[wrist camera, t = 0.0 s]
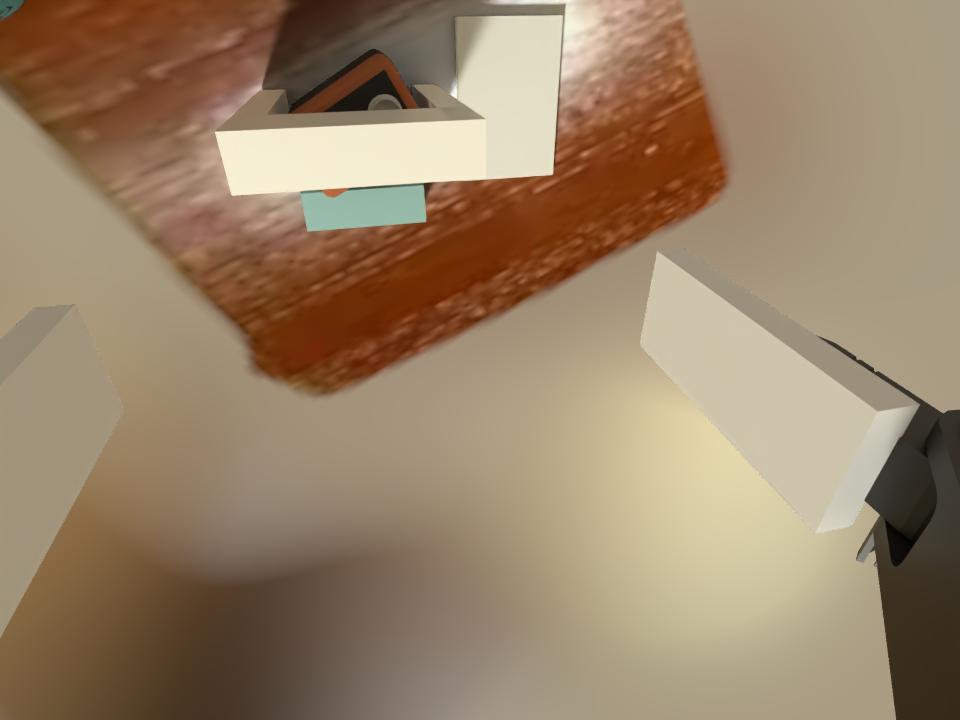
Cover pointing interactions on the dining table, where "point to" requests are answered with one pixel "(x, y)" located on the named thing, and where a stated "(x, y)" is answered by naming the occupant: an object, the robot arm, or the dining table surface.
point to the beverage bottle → (9, 7)
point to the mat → (512, 88)
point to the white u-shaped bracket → (351, 145)
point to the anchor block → (364, 207)
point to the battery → (358, 92)
